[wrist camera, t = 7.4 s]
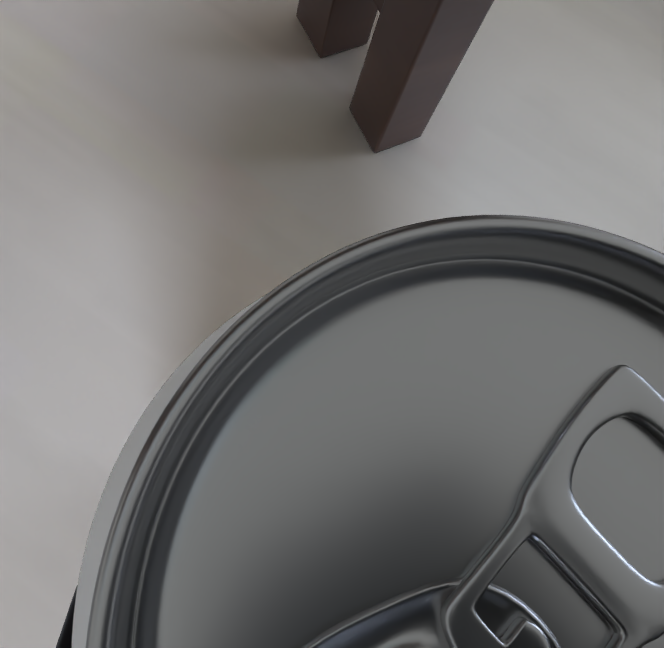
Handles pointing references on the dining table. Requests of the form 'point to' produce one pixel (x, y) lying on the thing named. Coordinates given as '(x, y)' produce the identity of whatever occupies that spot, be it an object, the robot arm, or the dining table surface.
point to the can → (404, 456)
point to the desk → (396, 56)
